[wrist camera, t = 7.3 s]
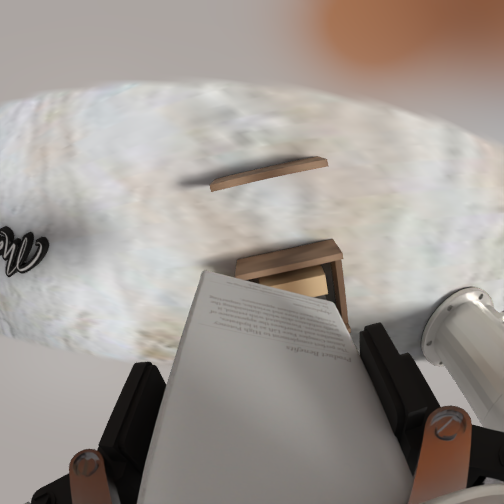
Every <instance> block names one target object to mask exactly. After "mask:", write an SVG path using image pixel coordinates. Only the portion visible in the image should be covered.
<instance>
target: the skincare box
mask: <svg viewBox="0 0 504 504" xmlns="http://www.w3.org/2000/svg"><path fill="white" fill-rule="evenodd" d="M412 480H413V476H412V474H411V471H410V469H409V466H408V464H407V461H406V459H405V456H404V454H403V451H402V449H401V447H400V444H399V442H398V439H397V437H396V436H394V433H393V431H392V428H391V426H390V423H389V421H388V418H387V416H386V413H385V411H384V409H383V406H382V404H381V401H380V399H379V397H378V394H377V392H376V390H375V387H374V385H373V383H372V381H371V378H370V376H369V374H368V372H367V370H366V368H365V366H364V364H363V361H362V359H361V357H360V355H359V353H358V351H357V349H356V347H355V345H354V343H353V341H352V339H351V336H350V334H349V332H348V330H347V328H346V326H345V324H344V322H343V320H342V318H341V316H340V314H339V312H338V310H337V308H336V306H335V304H334V303H333V302H331V301H327V300H322V299H318V298H314V297H310V296H305V295H301V294H297V293H293V292H289V291H285V290H281V289H277V288H273V287H269V286H265V285H261V284H257V283H254V282H250V281H246V280H242V279H238V278H234V277H230V276H226V275H223V274H219V273H215V272H211V271H207V270H204V271H203V272H202V274H201V277H200V281H199V284H198V288H197V290H196V293H195V296H194V299H193V302H192V305H191V308H190V311H189V315H188V318H187V321H186V324H185V327H184V330H183V333H182V336H181V340H180V343H179V346H178V350H177V353H176V356H175V359H174V363H173V366H172V369H171V372H170V376H169V379H168V382H167V385H166V389H165V392H164V396H163V399H162V403H161V406H160V410H159V413H158V417H157V420H156V424H155V428H154V432H153V435H152V439H151V443H150V447H149V451H148V455H147V459H146V462H145V467H144V471H143V476H142V481H141V485H140V490H139V495H138V500H137V504H406V502H407V498H408V495H409V491H410V488H411V484H412Z"/></svg>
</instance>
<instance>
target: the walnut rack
mask: <svg viewBox="0 0 504 504" xmlns="http://www.w3.org/2000/svg"><path fill="white" fill-rule="evenodd" d="M327 166H328V162H327V159H324V158H321V157H318V156H317V157H312V158H307V159H302V160H297V161H292V162H287V163H282V164H278V165H273V166H269V167H264V168H260V169H255V170H251V171H247V172H242V173H238V174H234V175H230V176H226V177H222V178H218V179H215V180H214V181H213V182H212V183H211V184H210V189H211V192H213V191H217V190H221V189H225V188H230V187H234V186H238V185H242V184H246V183H251V182H255V181H259V180H264V179H268V178H273V177H278V176H282V175H287V174H292V173H296V172H301V171H306V170H311V169H316V168H322V167H327ZM341 259H343V253H342V252H341V250H340V249H339V247H338V246H337V244H336V243H335V242H334V240H333V239H330V240H326V241H321V242H316V243H312V244H307V245H303V246H298V247H293V248H289V249H284V250H280V251H275V252H270V253H266V254H261V255H257V256H252V257H247V258H243V259H238V260H237V264H236V271H235V278H238V279H242V280H246V281H249V279H253V278H258V277H263V276H268V275H272V274H277V273H282V272H287V271H291V270H296V269H300V268H305V267H310V266H314V265H319V264H323V263H328V262H330V263H331V270H332V277H333V284H334V292H335V300H336V308H337V310H338V312H339V314H340V316H341V318H342V320H343V322H344V324H345V326H346V328H347V330H348V332H349V333H351V328H350V326H349V324H348V315H347V305H346V296H345V286H344V278H343V270H342V262H341Z"/></svg>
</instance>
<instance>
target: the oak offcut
mask: <svg viewBox="0 0 504 504" xmlns="http://www.w3.org/2000/svg"><path fill="white" fill-rule="evenodd" d="M259 284H261V285H265V286H269V287H273V288H277V289H281V290H285V291H289V292H293V293H297V294H301V295H305V296H310V297H316V296H321V295H325V294H328V290H327V283H326V277H325V273H324V271H323V269H322V267H321V265H320V264H319V265H314V266H310V267H305V268H300V269H296V270H291V271H287V272H282V273H277V274H272V275H268V276H263V277H259Z"/></svg>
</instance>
